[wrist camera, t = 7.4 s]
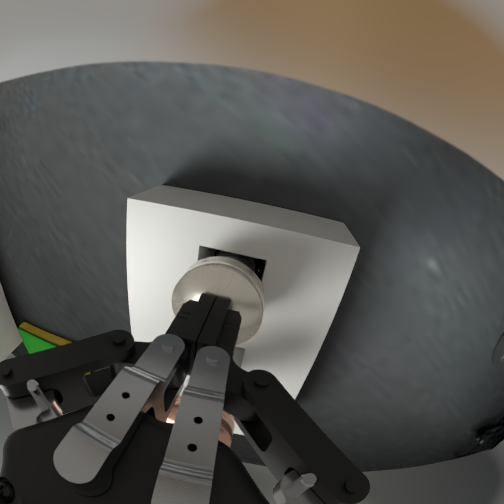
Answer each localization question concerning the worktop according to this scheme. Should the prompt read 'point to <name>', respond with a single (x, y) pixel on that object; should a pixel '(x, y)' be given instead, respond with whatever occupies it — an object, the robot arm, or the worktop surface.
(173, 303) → the knob
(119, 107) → the worktop surface
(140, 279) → the mount
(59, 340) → the dish sponge
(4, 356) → the white house-shaped block
